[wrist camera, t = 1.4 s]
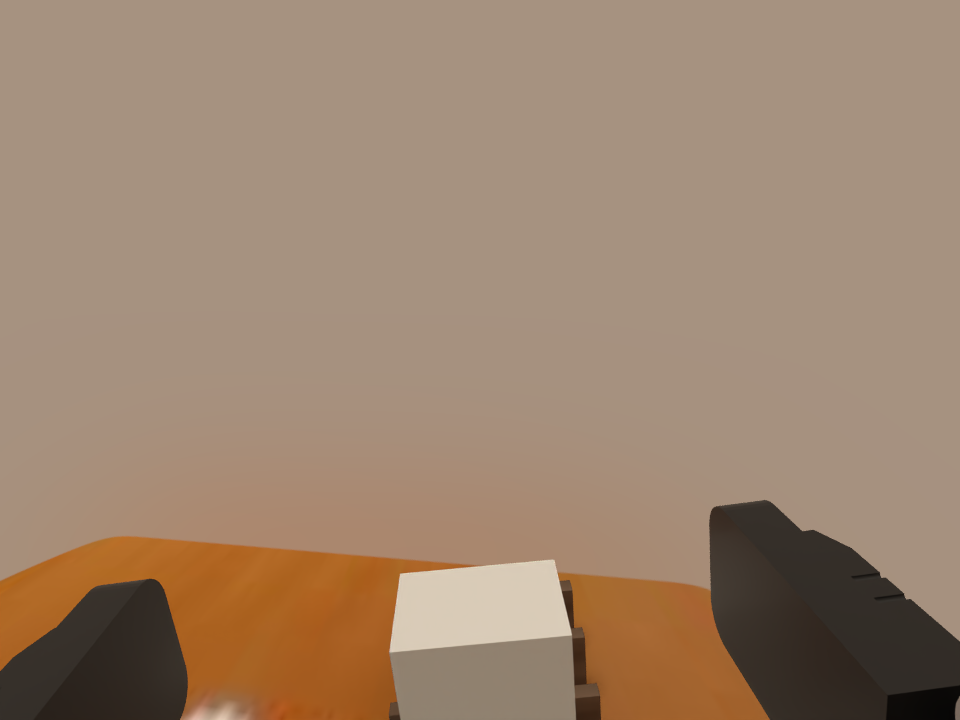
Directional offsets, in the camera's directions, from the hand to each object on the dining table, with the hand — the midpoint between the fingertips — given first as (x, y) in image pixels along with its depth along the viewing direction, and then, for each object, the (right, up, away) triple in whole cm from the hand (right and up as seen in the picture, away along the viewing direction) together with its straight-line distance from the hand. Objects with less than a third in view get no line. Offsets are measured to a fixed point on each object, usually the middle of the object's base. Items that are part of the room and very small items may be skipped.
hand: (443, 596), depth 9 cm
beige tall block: (+2, -20, +18) cm, 27 cm away
